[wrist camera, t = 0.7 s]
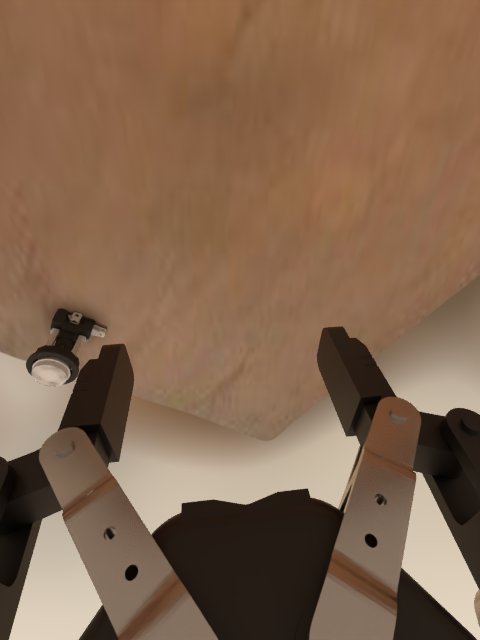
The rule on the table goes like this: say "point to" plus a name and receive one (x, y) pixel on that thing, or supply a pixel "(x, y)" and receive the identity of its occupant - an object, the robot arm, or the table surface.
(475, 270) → the table surface
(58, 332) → the push button
